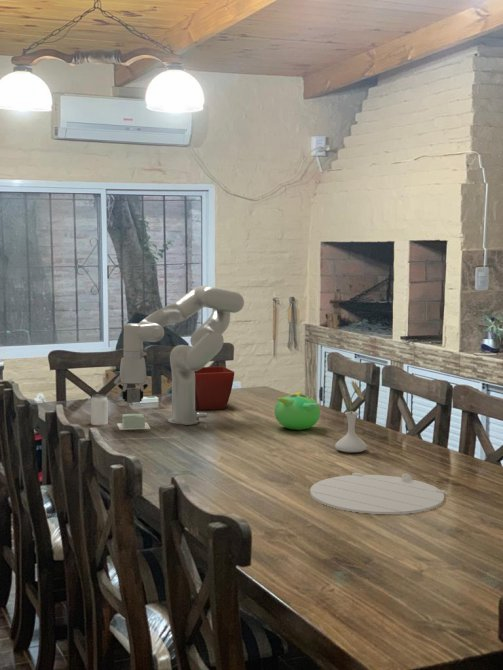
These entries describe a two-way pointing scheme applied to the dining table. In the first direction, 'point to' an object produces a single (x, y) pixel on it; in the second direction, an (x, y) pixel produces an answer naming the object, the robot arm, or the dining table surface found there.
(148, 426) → the baseplate
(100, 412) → the can
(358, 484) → the lazy susan
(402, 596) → the dining table surface
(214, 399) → the plant pot
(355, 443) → the flower in vase
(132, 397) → the dice cube
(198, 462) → the dining table surface
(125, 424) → the sage brick
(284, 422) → the toy bird
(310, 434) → the dining table surface
